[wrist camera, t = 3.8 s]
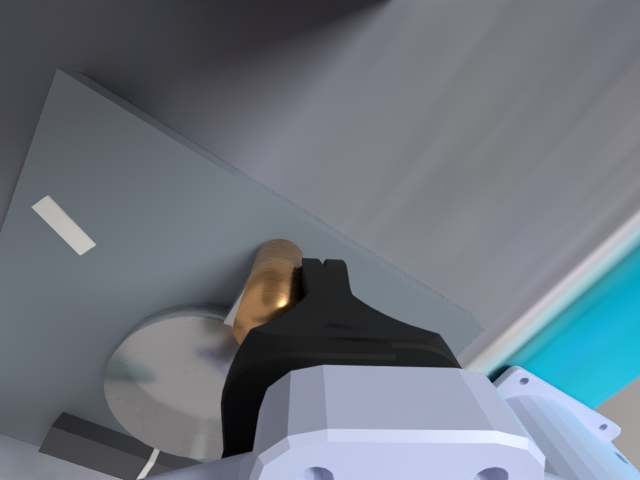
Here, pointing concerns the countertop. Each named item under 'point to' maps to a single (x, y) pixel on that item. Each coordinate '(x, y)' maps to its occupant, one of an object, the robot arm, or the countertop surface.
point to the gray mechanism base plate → (141, 266)
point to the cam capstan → (196, 358)
